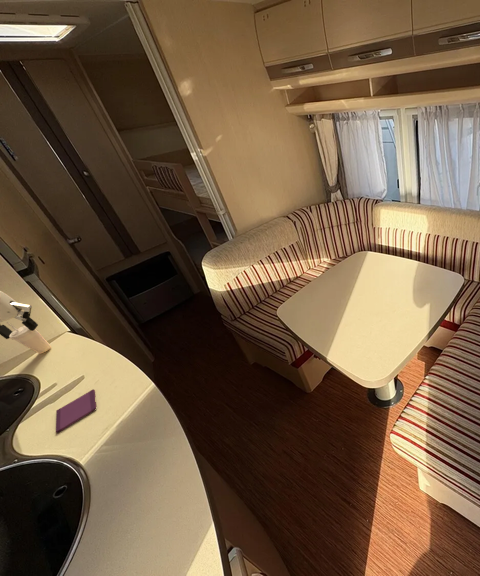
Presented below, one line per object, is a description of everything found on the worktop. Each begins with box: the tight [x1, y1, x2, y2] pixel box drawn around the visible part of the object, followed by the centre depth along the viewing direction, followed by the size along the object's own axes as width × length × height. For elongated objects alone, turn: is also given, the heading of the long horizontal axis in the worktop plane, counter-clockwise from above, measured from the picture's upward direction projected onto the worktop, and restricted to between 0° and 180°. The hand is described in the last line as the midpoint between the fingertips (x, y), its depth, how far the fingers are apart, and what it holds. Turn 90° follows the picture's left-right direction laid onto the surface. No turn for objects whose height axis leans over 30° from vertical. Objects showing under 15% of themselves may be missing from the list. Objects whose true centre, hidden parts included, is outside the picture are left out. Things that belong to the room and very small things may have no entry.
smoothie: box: [6, 321, 52, 355], centre depth 105 cm, size 6×6×14 cm
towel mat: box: [55, 388, 97, 434], centre depth 86 cm, size 9×9×1 cm
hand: (22, 331), depth 104 cm, fingers closed on smoothie, 6 cm apart
